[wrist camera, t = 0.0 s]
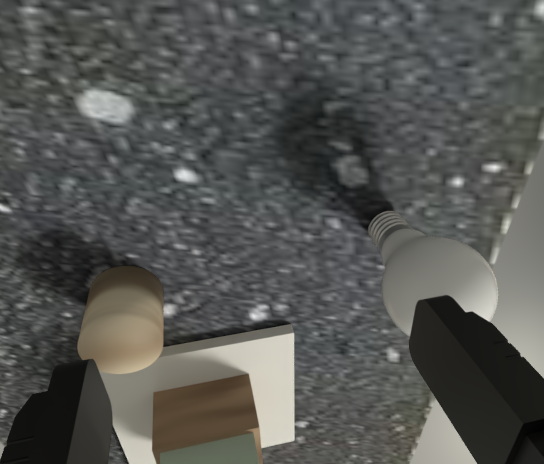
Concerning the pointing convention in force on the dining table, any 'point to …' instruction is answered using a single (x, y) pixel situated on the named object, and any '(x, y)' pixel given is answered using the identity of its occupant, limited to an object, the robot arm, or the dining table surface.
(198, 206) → the dining table surface
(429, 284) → the lightbulb
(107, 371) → the birch cylinder
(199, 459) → the sage block
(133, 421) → the base board
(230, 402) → the walnut block
